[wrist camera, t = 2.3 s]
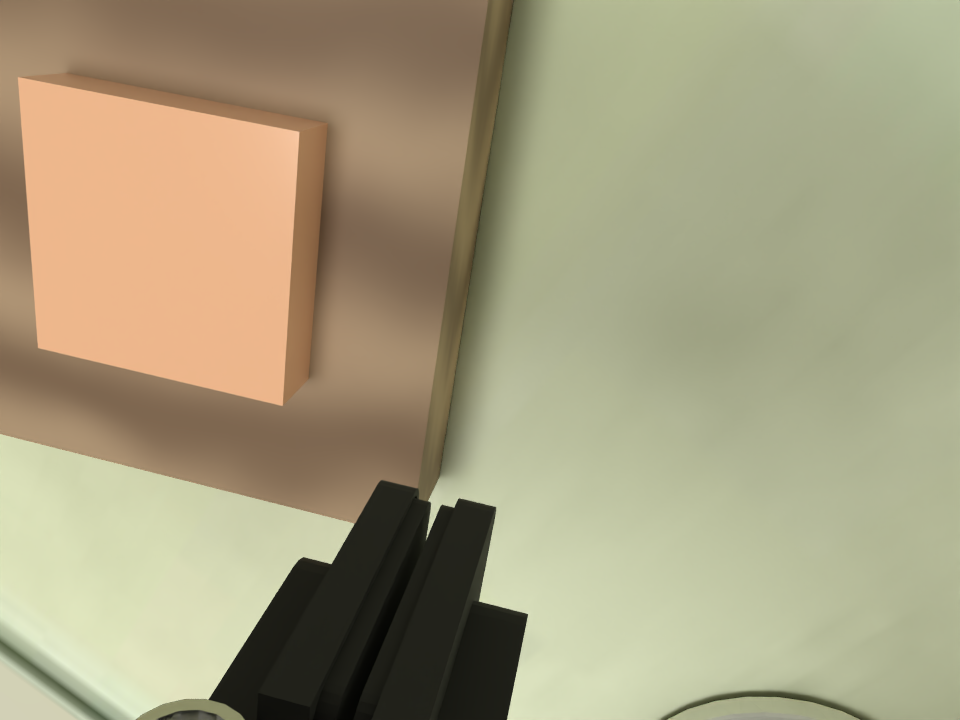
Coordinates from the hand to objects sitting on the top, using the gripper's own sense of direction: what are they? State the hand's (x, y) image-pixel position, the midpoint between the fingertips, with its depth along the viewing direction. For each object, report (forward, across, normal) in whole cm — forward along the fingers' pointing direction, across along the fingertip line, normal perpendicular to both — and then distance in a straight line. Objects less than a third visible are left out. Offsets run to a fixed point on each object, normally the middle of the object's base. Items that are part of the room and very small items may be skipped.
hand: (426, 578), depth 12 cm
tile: (+13, +11, 0) cm, 17 cm away
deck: (+17, +11, +1) cm, 20 cm away
